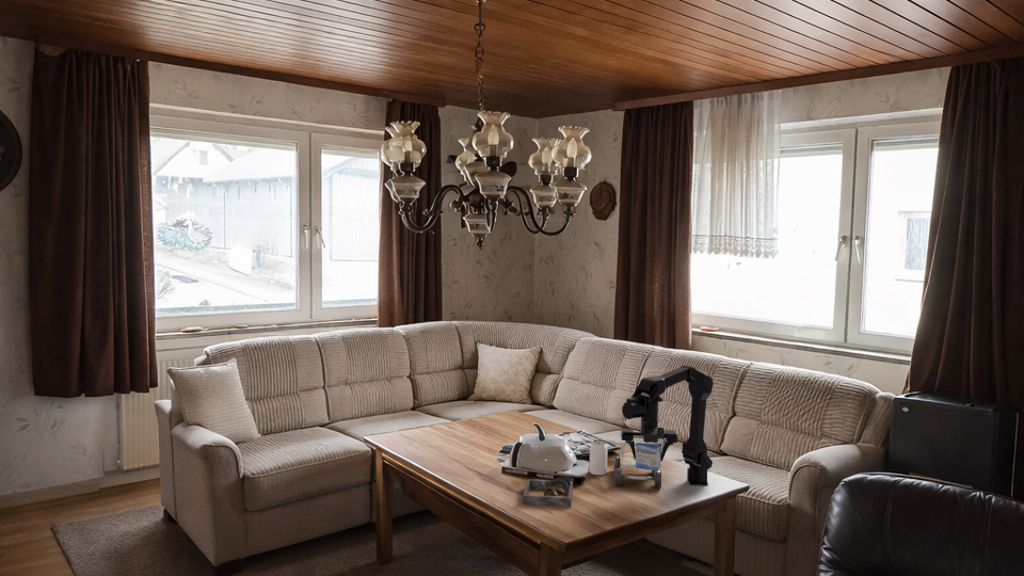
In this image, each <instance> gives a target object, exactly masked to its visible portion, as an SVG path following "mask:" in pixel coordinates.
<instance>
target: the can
mask: <svg viewBox="0 0 1024 576" xmlns="http://www.w3.org/2000/svg"><path fill="white" fill-rule="evenodd" d="M607 472H608V444H607V441H606V440H604V439H592V440H591V443H590V445H589V473H590V474H591V475H593V476H599V477H600V476H604V475H606V474H607Z"/></svg>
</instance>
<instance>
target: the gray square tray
mask: <svg viewBox="0 0 1024 576" xmlns="http://www.w3.org/2000/svg"><path fill="white" fill-rule="evenodd" d="M543 480H545V481H546V482H547V483H549V482H550V481H551V480H552V479H550V480H549V479H529V478H527V479H526V483H525V487H524V490H523V495H522V505H526V506H527V505H529V506H546V507H560V508H561V507H562V508H572V499H573V487H574V484H573V483H574V481H572V480H569V482H570V483H571V485H570V486H569V488H561V489H563V490H564V491H568V494H567V496H555V495H545V496H544V495H539V494H536V495H535V494H529V492H530V489H531V490H534V489H535V490H542V489H544V487H543V486H542V485H543V484H542V481H543Z"/></svg>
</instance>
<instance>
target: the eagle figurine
mask: <svg viewBox="0 0 1024 576" xmlns="http://www.w3.org/2000/svg"><path fill="white" fill-rule="evenodd" d="M542 480H543V481H542V484H543V485H542V486H543V487H544V489H541V490H542V491H543V496H547V495H548V493H549V492H551V493H552V494H553V495H554V496H558V493H557V491H558V492H560V493H563V494H566V495H569V492H566V490H563V489H561V488H569V486H570V485H571V483H570V482H569V481H570V480H569V479H568V478H565V477H563V476H561V477H554V478H552V479H550V480H551V481H550V482H549V483H547V482H546V481H545V480H546V479H542Z"/></svg>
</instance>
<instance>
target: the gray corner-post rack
mask: <svg viewBox="0 0 1024 576" xmlns="http://www.w3.org/2000/svg"><path fill="white" fill-rule="evenodd" d="M637 442H638V441H637ZM637 442H636V441H634V443H635V447H636V443H637ZM619 446H620V452H619V455H614V456H613V472H614V486H619V487H620V486H622V480H637V481H638V480H642V481H653V482H654V488H662V471H661V469H659V470H658V471H656V470H649V469H642V468H636V460H634V456H633V453H632V452H625V447H630V445H629V443H626V442H625V441H619ZM635 454H636V452H635ZM622 469H623V470H636V471H639V470H641V471H642V470H643V471H650V472H651V475H654V476H648V475H647V476H645V475H623V474H622Z"/></svg>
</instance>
